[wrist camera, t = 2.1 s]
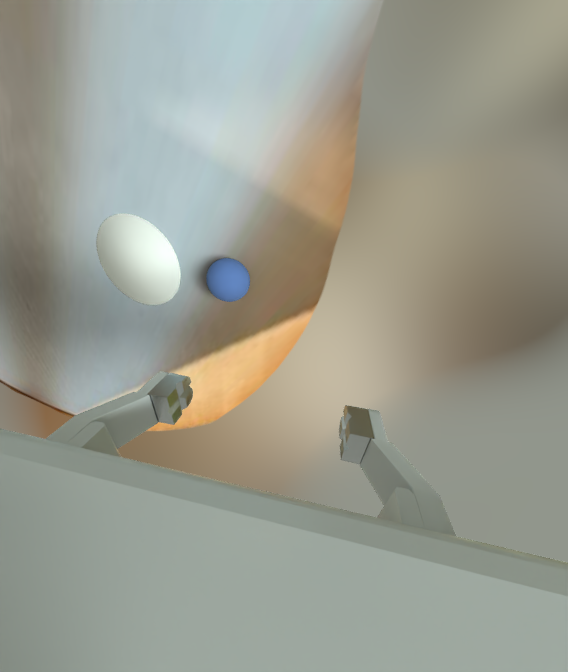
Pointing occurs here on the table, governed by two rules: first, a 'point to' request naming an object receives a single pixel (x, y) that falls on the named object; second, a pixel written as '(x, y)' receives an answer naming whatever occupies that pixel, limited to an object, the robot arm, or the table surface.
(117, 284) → the disc
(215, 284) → the ball
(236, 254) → the table surface
